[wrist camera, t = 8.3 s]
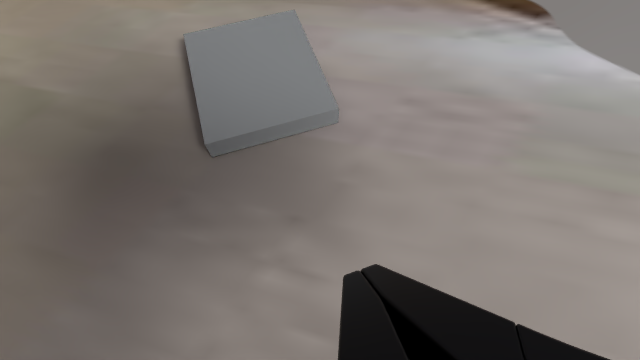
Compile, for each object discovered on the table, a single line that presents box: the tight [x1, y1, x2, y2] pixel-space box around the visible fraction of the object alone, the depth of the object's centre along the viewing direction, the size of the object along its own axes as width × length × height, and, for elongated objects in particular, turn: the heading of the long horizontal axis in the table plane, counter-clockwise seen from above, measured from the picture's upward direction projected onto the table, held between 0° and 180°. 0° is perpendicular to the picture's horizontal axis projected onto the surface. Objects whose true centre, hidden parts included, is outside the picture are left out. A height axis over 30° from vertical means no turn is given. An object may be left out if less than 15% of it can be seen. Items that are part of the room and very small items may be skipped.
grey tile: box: [183, 10, 339, 157], centre depth 27 cm, size 2×10×12 cm
